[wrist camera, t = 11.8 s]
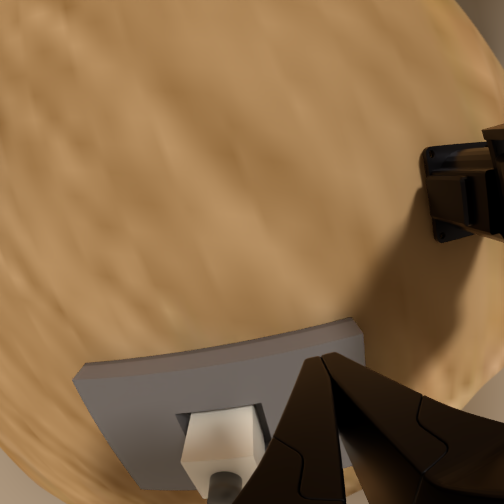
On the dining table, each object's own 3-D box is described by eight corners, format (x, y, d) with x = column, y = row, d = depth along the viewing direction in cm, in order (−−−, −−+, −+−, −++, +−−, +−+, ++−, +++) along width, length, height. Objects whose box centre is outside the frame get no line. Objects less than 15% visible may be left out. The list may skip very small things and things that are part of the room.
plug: (252, 395, 21) (253, 481, 13) (264, 435, 22) (269, 516, 14) (193, 403, 21) (175, 486, 14) (210, 442, 22) (200, 520, 14)
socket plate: (351, 317, 21) (363, 333, 18) (359, 442, 23) (366, 461, 21) (85, 363, 21) (71, 380, 19) (146, 471, 24) (141, 489, 21)
